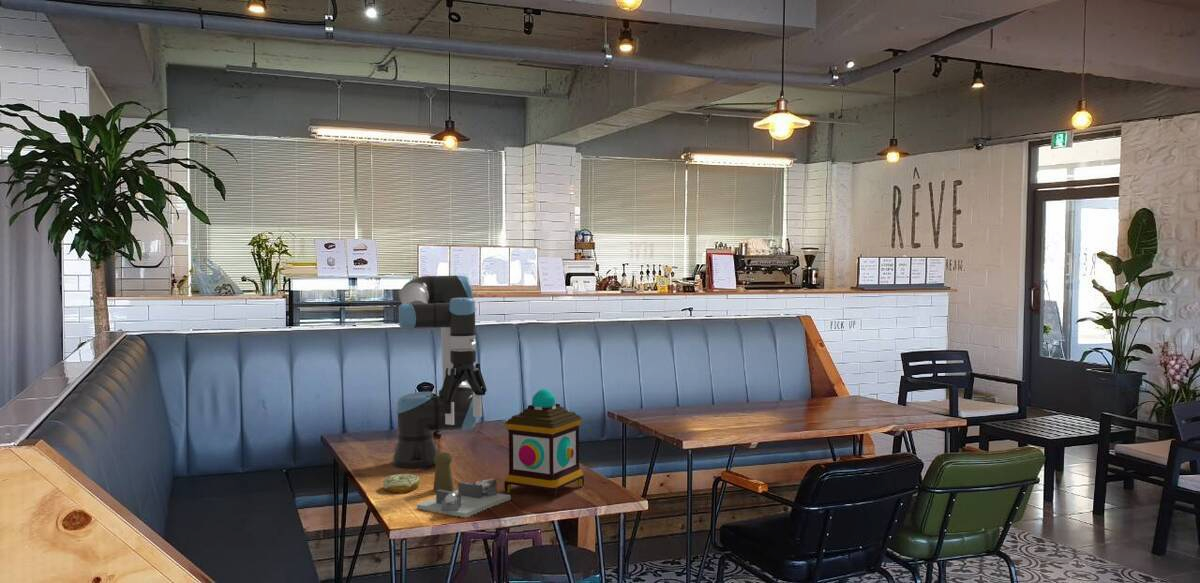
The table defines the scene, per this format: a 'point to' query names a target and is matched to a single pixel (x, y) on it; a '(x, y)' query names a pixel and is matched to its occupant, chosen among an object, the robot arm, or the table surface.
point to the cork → (443, 472)
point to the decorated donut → (401, 483)
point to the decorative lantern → (544, 446)
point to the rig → (465, 500)
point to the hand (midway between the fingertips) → (464, 420)
